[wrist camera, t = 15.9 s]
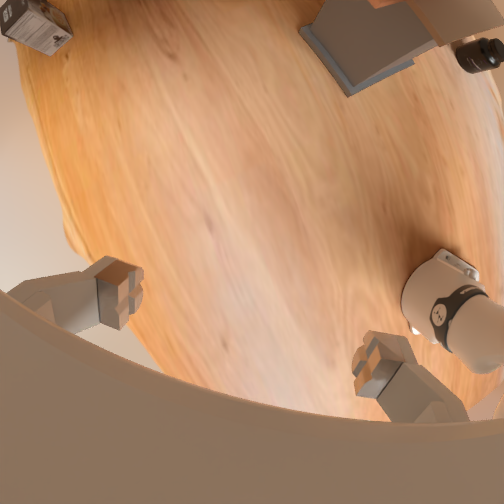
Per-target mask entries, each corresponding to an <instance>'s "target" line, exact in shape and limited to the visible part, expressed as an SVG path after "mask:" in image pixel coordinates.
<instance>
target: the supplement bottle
mask: <svg viewBox="0 0 504 504" xmlns="http://www.w3.org/2000/svg"><path fill="white" fill-rule="evenodd" d="M456 55H457V59H458V61H459V63H460V65H461V66H462V67H463V69H464V70H466V71H467V72H469V73H471V74H474V73H478V72H482V71H486V70H491V69H495V68H498V67H499V66H500V64H501V62H504V44H503V43H502V42H501V41H500V40H499V39H497V38H495V39H490V40H488V39H487V38H479V39H476V40H474V41H471V42H468V43H466V44H463V45H461V46H459V47H458V48H457V50H456Z"/></svg>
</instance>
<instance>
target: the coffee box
mask: <svg viewBox="0 0 504 504" xmlns="http://www.w3.org/2000/svg"><path fill="white" fill-rule="evenodd" d="M0 27H1V33H2V35H4V36H6V37H8V38H11V39H13V40H15V41H18V42H20V43H22V44H24V45H27V46H29V47H31V48H33V49H35V50H38V51H40V52H42V53H44V54H46V55H48V56H51V55H53V54H54V53H55V52H56V51H57V50H58V49H59V48H60V47H61V46H63V45H64V44H65V43H66V42H67V41H68V40H70V39H71V38H72V37H73V34H72V32H71V29H70V27H69V25H68V22H67V20H66V18H65V15H64V13H62V12H61V11H60V10H58V9H57V8H56V7H54V6H53V5H51V4H50V3H49V2H47V1H46V0H7V1H6V2H5V4H4V5H2V7H1V8H0Z"/></svg>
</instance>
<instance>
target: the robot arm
mask: <svg viewBox="0 0 504 504" xmlns="http://www.w3.org/2000/svg"><path fill="white" fill-rule="evenodd" d="M143 279H144V270H143V269H142V267H139V266H136V265H133V264H131V263H128V262H125V261H122V260H119V259H117V258H114V257H111V256H104V257H103V258H101V259H100V260H99V261H97V262H96V263H94V264H93V265H91V266H90V267H89V268H87V269H86V270H84V271H83V272H79V271H77V272H71V273H65V274H59V275H53V276H48V277H42V278H37V279H31V280H25V281H23V282H22V283H20V284H19V285H17V286H16V287H14V288H13V289H12V290H10V291H9V292H7V293H5V292H3V291H2V290H0V504H504V394H503V396H502V398H501V400H500V402H499V404H498V405H497V407H496V409H495V412H494V415H493V418H492V419H491V420H481V421H470V420H469V417H468V415H467V412H466V410H465V408H464V405H463V403H462V401H461V400H460V399H459V398H458V397H457V396H456V395H454V394H453V393H452V392H451V391H450V390H449V389H448V388H447V387H446V386H444V385H443V384H442V383H441V382H440V381H439V380H438V379H437V378H436V377H434V376H433V375H432V374H431V373H430V372H429V371H428V370H426V369H425V368H424V367H423V366H422V365H418V363H417V360H416V358H415V355H414V353H413V351H412V348H411V346H410V344H409V342H408V339H407V338H406V337H405V336H399V335H392V334H387V333H381V332H376V331H371V330H369V331H368V332H367V333H366V334H365V336H364V338H363V342H364V345H363V346H361V347H359V348H358V349H357V351H356V353H355V354H354V357H353V361H352V373H353V374H354V375H355V377H356V379H355V381H354V386H355V393H356V396H361V397H367V398H374V399H377V402H378V403H379V404H380V406H381V407H382V409H383V410H384V411H385V413H386V414H387V416H388V417H389V419H390V420H391V421H392V422H382V421H369V420H358V419H349V418H341V417H333V416H326V415H320V414H313V413H307V412H302V411H296V410H291V409H286V408H281V407H276V406H272V405H267V404H263V403H259V402H254V401H250V400H246V399H242V398H238V397H235V396H231V395H227V394H224V393H220V392H217V391H213V390H210V389H207V388H204V387H200V386H197V385H194V384H191V383H188V382H185V381H182V380H179V379H176V378H174V377H171V376H168V375H165V374H163V373H160V372H157V371H154V370H152V369H149V368H147V367H144V366H142V365H139V364H137V363H135V362H132V361H130V360H128V359H125V358H123V357H120V356H118V355H116V354H114V353H112V352H109V351H107V350H105V349H103V348H100V347H99V346H97V345H95V344H92V343H90V342H88V341H86V340H84V339H82V338H80V337H79V336H76V335H75V334H76V333H78V332H81V331H83V330H86V329H88V328H90V327H93V326H95V325H98V324H100V323H102V324H104V325H107V326H109V327H112V328H115V329H117V330H121V329H122V327H123V326H124V325H125V324H126V323H127V322H128V321H129V315H131V314H134V313H135V312H136V311H137V310H138V309H139V306H140V304H141V302H142V297H143V288H142V287H141V285H140V282H141V281H142V280H143ZM401 306H402V311H403V314H404V316H405V318H406V319H407V320H408V322H409V326H410V331H411V332H412V333H413V334H422V335H423V336H424V337H425V338H426V339H428V340H429V341H430V342H431V343H433V344H436V343H440V344H441V346H442V347H443V348H445V349H446V350H448V351H449V352H451V353H454V354H455V355H456V356H457V357H458V358H459V359H460V360H461V361H462V362H463V363H464V364H465V365H466V366H467V368H468V369H469V370H470V371H471V372H473V373H476V374H488V373H491V372H493V371H495V370H496V369H498V368H499V367H500V366H502V365H503V366H504V307H503V306H501V305H499V304H497V303H496V302H494V301H493V300H491V299H489V297H488V295H487V294H486V293H485V287H484V285H483V284H481V283H479V272H478V271H477V270H476V269H475V268H473V267H472V266H470V265H469V264H467V263H466V262H464V261H463V260H461V259H460V258H458V257H456V256H455V255H453V254H452V253H450V252H448V251H447V250H445V249H440V250H439V251H438V252H437V253H436V254H435V256H434V257H433V258H432V259H430V260H429V261H427V262H425V263H423V264H422V265H421V266H419V267H418V268H417V269H416V270H415V271H414V272H413V274H412V275H411V276H410V278H409V280H408V281H407V283H406V285H405V288H404V291H403V294H402V301H401Z"/></svg>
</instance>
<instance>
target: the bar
mask: <svg viewBox="0 0 504 504" xmlns="http://www.w3.org/2000/svg"><path fill="white" fill-rule="evenodd" d="M368 1H369V2H370V4H371V5H372V6H373V7H374V8H375V9H376V8H380V7H383V6H387V5H391V4H395V3H399V2H403V1H407V0H368Z"/></svg>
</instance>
